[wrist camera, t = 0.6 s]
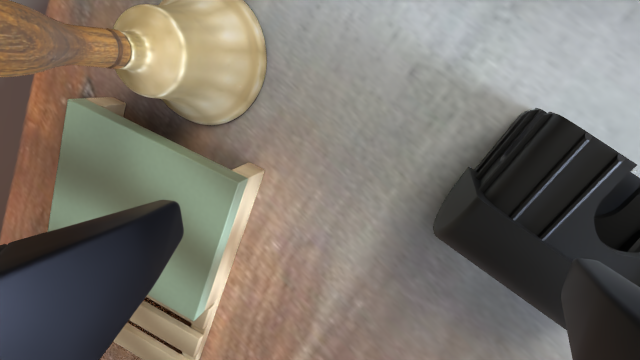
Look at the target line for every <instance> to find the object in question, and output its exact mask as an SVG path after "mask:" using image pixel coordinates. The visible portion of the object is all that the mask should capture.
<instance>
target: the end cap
mask: <svg viewBox="0 0 640 360" xmlns="http://www.w3.org/2000/svg"><path fill="white" fill-rule="evenodd" d="M636 166H637V164H635V163H634V162H632V161H630V160H629V159H627V158H626V157H624V156H623V155H621V154H620V153H618V152H617V151H615V150H614V149H612V148H611V147H609V146H608V145H606V144H605V143H603V142H601V141H600V140H598V139H597V138H595V137H594V136H592V135H591V134H589V133H588V132H586V131H585V130H583V129H582V128H580V127H579V126H577V125H575V124H574V123H572V122H571V121H569V120H567V119H566V118H564V117H562V116H560V115H558V114H555V113H552V112H549V113H546V112H545V111H543V110H541V109H538V108H535V110H530V111H525V112H524V113H523V114H521V115H520V116H519V117H518V119H517V120H516V121H515V122H514V123H513V125H512V126H511V127H510V128H509V129H508V130H507V132H506V133H505V134H504V135H503V136H502V138H501V139H500V140H499V141H498V142H497V144H496V145H495V146H494V147H493V148H492V150H491V151H490V152H489V153H488V154H487V156H486V157H485V158H484V159H483V160H482V162H481V163H480V164H479V165H478V166H477V168H476V169H475V170H473V169H472V168H470V167H468V168H467V170H466V171H465V172H464V173H463V175H462V176H461V177H460V179H459V180H458V181H457V183H456V184H455V185H454V187H453V188H452V190H451V191H450V193H449V194H448V196H447V197H446V199H445V200H444V202H443V204H442V206H441V207H440V209H439V211H438V213H437V216H436V218H435V221H434V226H433V230H434V234H435V236H436V237H438V238H439V239H440V240H442V241H443V242H444V243H446V244H447V245H449V246H450V247H451V248H453V249H454V250H456V251H457V252H458V253H460V254H461V255H463V256H464V257H465V258H467V259H468V260H470V261H471V262H472V263H474V264H475V265H477V266H478V267H479V268H481V269H482V270H483V271H485V272H486V273H488V274H489V275H490V276H492V277H493V278H495V279H496V280H497V281H499V282H500V283H502V284H503V285H504V286H506V287H507V288H509V289H510V290H511V291H513V292H514V293H516V294H517V295H518V296H520V297H521V298H523V299H524V300H525V301H527V302H528V303H529V304H531V305H532V306H534V307H535V308H536V309H538V310H539V311H541V312H542V313H543V314H545V315H546V316H548V317H549V318H550V319H552V320H553V321H555V322H556V323H557V324H559V325H560V326H562V327H563V328H564V329H566V330H567V327H566V322H565V317H564V312H563V307H562V301H561V293H562V288H563V285H564V282H565V279H566V276H567V273H568V270H569V267H570V265H571V262H572V261H573V260H574V259H576V258H583V259H590V260H596V261H599V262H601V263H602V264H604V265H606V266H607V267H609V268H610V269H612V270H613V271H615V272H616V273H618V274H620V275H621V276H623V277H624V278H626V279H627V280H629V281H630V282H632V283H634V284H635V285H637V286H638V287H640V178H639V177H637V176H636V175H634V174H633V173H631V172H630V171H632V170H633V169H634V168H635V167H636Z"/></svg>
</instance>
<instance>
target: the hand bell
mask: <svg viewBox="0 0 640 360" xmlns="http://www.w3.org/2000/svg"><path fill="white" fill-rule="evenodd" d="M266 64H267V55H266V47H265V39H264V36H263V32H262V29H261V26H260V25H259V23H258V20H257V18H256V16H255V15H254V13H253V11H252V10H251V9H250V8H249V6H248V5H247V4H246V3H245V2H244V1H243V0H163V1H162V2H161V3H160V4H159V5H150V4H142V5H136V6H133V7H131V8H129V9H127V10H126V11H125V12H123V13H122V15H121V16H120V17H119V18H118V19H117V21H116V23H115V25H114V27H113V29H109V28H106V29H103V28H96V27H84V26H75V25H69V24H65V23H62V22H59V21H56V20H54V19H52V18H50V17H48V16H46V15H44V14H42V13H40V12H38V11H36V10H34V9H31V8H29V7H27V6H24V5H21V4H18V3H16V2H12V1H9V0H0V77H12V76H21V75H29V74H34V73H38V72H42V71H45V70H49V69H52V68H55V67H59V66H64V65H81V66H92V67H102V68H109V69H115V70H116V72H117V74H118V76H119V77H120V79H121V80H122V81H123V83H124V84H125V85H126V86H127V87H128V88H129V89H131V90H132V91H134V92H135V93H137V94H139V95H142V96H145V97H149V98H160V99H162V100H163V101H164V102H165V103H166V105H167V106H168V107H169V108H171V109H172V110H173V111H174V112H176V113H177V114H178V115H180V116H182V117H183V118H185V119H187V120H189V121H192V122H195V123H198V124H203V125H219V124H223V123H226V122H229V121H231V120H233V119H235V118H237V117H239V116H240V115H242V114H243V113H244V112H245V111H246V110H247V109H248V108H249V107H250V106H251V104H252V103H253V102H254V100H255V99H256V97H257V96H258V94H259V92H260V89H261V87H262V84H263V81H264V78H265V73H266Z"/></svg>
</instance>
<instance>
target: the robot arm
mask: <svg viewBox="0 0 640 360" xmlns="http://www.w3.org/2000/svg"><path fill="white" fill-rule="evenodd" d="M183 234H184V227H183V221H182V215H181V209H180V205H179V204H178V203H177V202H176V201H171V200H158V201H155V202H151V203H148V204H144V205H141V206H137V207H133V208H130V209H126V210H123V211H119V212H116V213H112V214H109V215H105V216H102V217H98V218H95V219H91V220H88V221H84V222H81V223H77V224H74V225H70V226H67V227H63V228H60V229H56V230H53V231H49V232H46V233H42V234H39V235H35V236H32V237H28V238H25V239H21V240H18V241H14V242H11V243H9V244H8V245H6V244H3V245H0V360H100V358H101V357H102V356H103V354H104V353H105V352H106V350H107V349H108V348H109V346H110V345H111V344H112V342H113V341H114V339H115V338H116V337H117V335H118V334H119V333H120V331H121V330H122V329H123V327H124V326H125V325H126V323H127V322H128V321H129V319H130V318H131V317H132V315H133V314H134V313H135V311H136V310H137V308H138V307H139V306H140V304H141V303H142V302H143V300H144V299H145V298H146V296H147V295H148V294H149V292H150V291H151V289H152V288H153V286H154V285H155V283H156V282H157V280H158V279H159V277H160V275H161V274H162V272H163V270H164V268H165V267H166V265H167V263H168V262H169V260H170V258H171V257H172V255H173V253H174V252H175V250H176V248H177V247H178V245H179V243H180V242H181V240H182V238H183ZM561 301H562V307H563V312H564V317H565V322H566V327H567V332H568V337H569V343H570V348H571V353H572V358H573V360H640V287H638V286H637V285H635V284H634V283H632V282H630V281H629V280H627V279H626V278H624V277H623V276H621V275H620V274H618V273H616V272H615V271H613V270H612V269H610V268H609V267H607V266H606V265H604V264H602V263H601V262H599V261H596V260H590V259H583V258H576V259H574V260H573V261H572V262H571V265H570V267H569V270H568V273H567V276H566V279H565V282H564V285H563V288H562V293H561Z"/></svg>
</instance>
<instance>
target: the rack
mask: <svg viewBox="0 0 640 360" xmlns="http://www.w3.org/2000/svg"><path fill="white" fill-rule="evenodd" d="M125 107H126V103H124V102H122V101H120V100H118V99H116V98H113V97H102V98H85V99H84V98H81V99H68V103H67V109H66V116H65V122H64V129H63V135H62V142H61V148H60V155H59V161H58V168H57V174H56V181H55V187H54V194H53V200H52V207H51V213H50V220H49V226H48V232H49V231H53V230H56V229H60V228H63V227H67V226H70V225H74V224H77V223H81V222H84V221H88V220H91V219H95V218H98V217H102V216H105V215H109V214H112V213H116V212H119V211H123V210H126V209H130V208H133V207H137V206H141V205H144V204H148V203H151V202H155V201H158V200H171V201H176V202H177V203H178V204H179V205H180V209H181V215H182V221H183V227H184V234H183V238H182V240H181V242H180V243H179V245H178V247H177V248H176V250H175V252H174V253H173V255H172V257H171V258H170V260H169V262H168V263H167V265H166V267H165V268H164V270H163V272H162V274H161V275H160V277H159V279H158V280H157V282H156V283H155V285H154V286H153V288H152V289H151V291H150V292H149V294H148V295H147V296H146V297H147V298H149V299H151V300H152V301H154V302H156V303H158V304H159V305H161V306H163V307H165V308H166V309H168V310H170V311H172V312H173V313H175V314H177V315H178V316H180V317H182V318H184V319H185V320H187V321H189V322H191V323H192V324H191V327H189V326H187V325H186V324H184V323H182V322H181V321H179V320H177V319H175V318H174V317H172V316H170V315H168V314H167V313H165V312H163V311H161V310H160V309H158V308H156V307H155V306H153V305H151V304H149V303H148V302H146V301H144V300H143V302H142V303H141V304H140V306H139V307H138V308H137V310H136V311H135V313H134V314H133V315H132V317H131V318H130V319H129V320H130V321H132V322H133V323H135V324H137V325H138V326H140V327H142V328H144V329H145V330H147V331H149V332H150V333H152V334H154V335H155V336H157V337H159V338H160V339H162V340H164V341H165V342H167V343H169V344H171V345H172V346H174V347H176V348H177V349H179V350H181V351H182V355H181V354H180V353H178V352H176V351H175V350H173V349H171V348H169V347H168V346H166V345H164V344H163V343H161V342H159V341H158V340H156V339H154V338H153V337H151V336H149V335H148V334H146V333H144V332H143V331H141V330H139V329H137V328H136V327H134V326H132V325H131V324H129V323H126V325H125V326H124V327H123V329H122V330H121V331H120V333H119V334H118V335H117V337H116V338H115V339H114V341H113V342H115V343H116V344H118V345H120V346H121V347H123V348H125V349H126V350H128V351H130V352H131V353H133V354H134V355H136V356H138V357H139V358H141V359H143V360H199V359H200V357H201V354H202V351H203V348H204V345H205V342H206V339H207V336H208V333H209V331H210V328H211V325H212V322H213V319H214V316H215V313H216V310H217V307H218V305H219V302H220V299H221V296H222V293H223V290H224V287H225V285H226V282H227V279H228V276H229V273H230V270H231V267H232V264H233V261H234V259H235V256H236V253H237V250H238V247H239V244H240V241H241V238H242V236H243V233H244V230H245V227H246V224H247V221H248V218H249V215H250V212H251V210H252V207H253V204H254V201H255V198H256V195H257V192H258V189H259V186H260V184H261V181H262V178H263V175H264V172H265V170H264V169H262V168H260V167H258V166H256V165H254V164H251V163H247V164H244V165H242V166H240V167H237V168H235V169H232V170H230V169H228V168H226V167H224V166H222V165H220V164H218V163H216V162H214V161H212V160H210V159H208V158H205V157H203V156H201V155H199V154H197V153H195V152H193V151H191V150H189V149H187V148H185V147H183V146H181V145H179V144H177V143H175V142H173V141H171V140H169V139H166V138H164V137H162V136H160V135H158V134H156V133H154V132H152V131H150V130H148V129H146V128H144V127H142V126H140V125H138V124H136V123H134V122H132V121H130V120H127V119H125V118H123V117H124V112H125Z"/></svg>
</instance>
